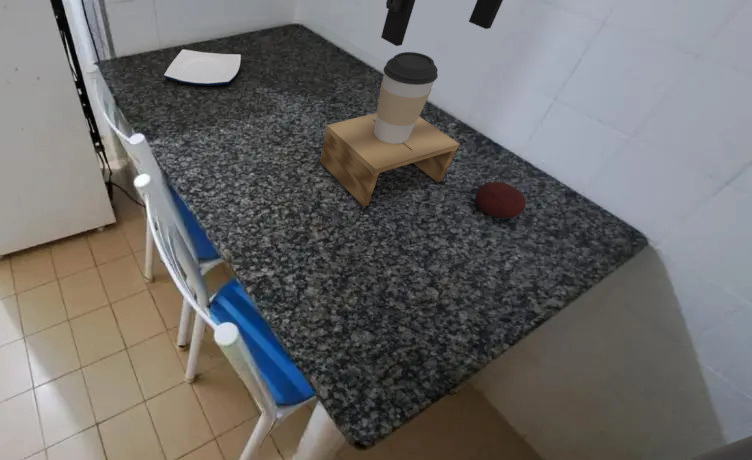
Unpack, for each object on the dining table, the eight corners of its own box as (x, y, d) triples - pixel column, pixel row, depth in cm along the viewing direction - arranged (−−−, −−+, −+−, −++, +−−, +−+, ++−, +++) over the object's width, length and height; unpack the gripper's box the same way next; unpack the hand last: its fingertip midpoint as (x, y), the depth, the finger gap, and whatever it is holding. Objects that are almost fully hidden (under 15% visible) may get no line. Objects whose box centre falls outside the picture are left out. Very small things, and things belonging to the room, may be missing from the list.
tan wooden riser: (441, 181, 82) (460, 143, 75) (363, 207, 76) (376, 168, 69) (391, 141, 92) (404, 105, 85) (319, 161, 86) (326, 124, 79)
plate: (160, 85, 110) (159, 76, 108) (181, 56, 124) (180, 47, 122) (231, 92, 108) (231, 83, 106) (244, 62, 122) (244, 53, 120)
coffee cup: (410, 122, 80) (435, 47, 69) (419, 148, 74) (449, 70, 63) (365, 120, 81) (383, 46, 70) (370, 145, 75) (391, 68, 64)
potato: (490, 230, 72) (507, 206, 68) (460, 201, 78) (474, 177, 73) (522, 222, 74) (540, 198, 69) (490, 194, 79) (505, 170, 75)
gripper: (594, -238, 37) (488, 9, 52) (380, -258, 30) (330, 36, 45) (683, -246, 32) (538, 28, 47) (455, -272, 25) (370, 62, 40)
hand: (437, 33), depth 46 cm, fingers open, 13 cm apart
